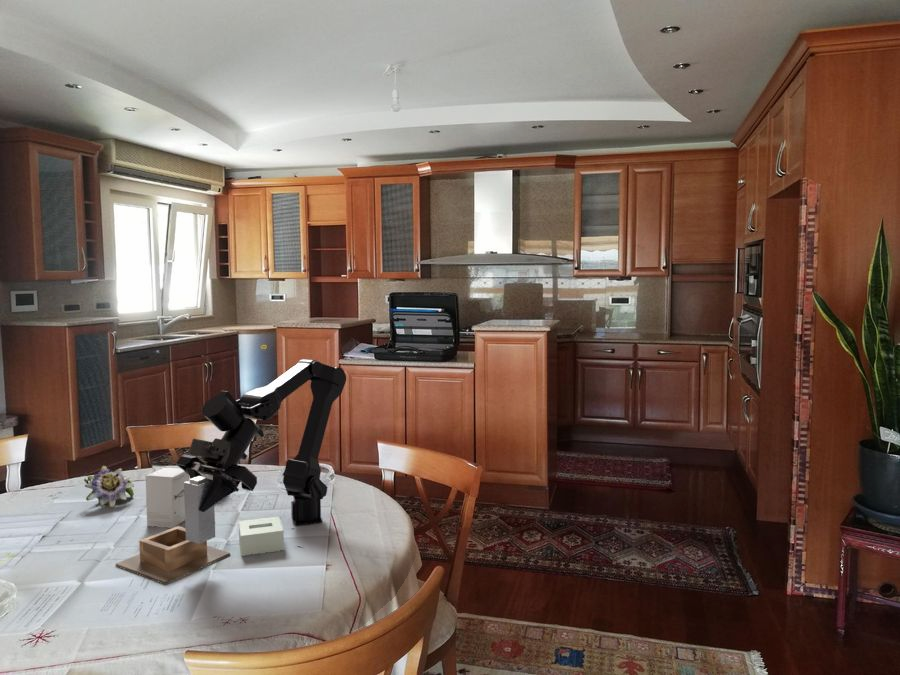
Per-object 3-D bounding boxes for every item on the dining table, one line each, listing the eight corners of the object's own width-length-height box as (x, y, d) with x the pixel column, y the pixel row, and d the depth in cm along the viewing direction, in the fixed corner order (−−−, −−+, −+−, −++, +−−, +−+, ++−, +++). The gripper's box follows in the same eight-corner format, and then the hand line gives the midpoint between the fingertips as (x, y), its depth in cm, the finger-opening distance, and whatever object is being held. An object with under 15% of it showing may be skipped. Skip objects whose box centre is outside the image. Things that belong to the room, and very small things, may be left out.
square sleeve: (181, 539, 151) (181, 518, 151) (230, 555, 143) (229, 532, 143) (115, 565, 137) (114, 542, 137) (165, 584, 129) (164, 559, 129)
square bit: (201, 533, 138) (199, 474, 136) (215, 536, 136) (213, 477, 134) (185, 539, 134) (183, 479, 133) (199, 543, 132) (197, 482, 131)
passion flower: (112, 527, 173) (87, 499, 165) (93, 510, 179) (67, 483, 172) (148, 495, 179) (125, 467, 171) (128, 480, 185) (105, 452, 178)
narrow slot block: (279, 535, 154) (279, 516, 154) (283, 550, 146) (283, 530, 145) (239, 540, 151) (238, 521, 151) (241, 555, 143) (240, 535, 142)
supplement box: (173, 529, 158) (171, 477, 156) (146, 526, 159) (144, 475, 158) (191, 517, 165) (190, 468, 164) (165, 515, 166) (163, 466, 165)
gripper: (181, 417, 141) (137, 482, 132) (244, 427, 132) (201, 498, 123) (212, 445, 148) (172, 508, 140) (274, 456, 139) (235, 524, 131)
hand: (193, 509), depth 133 cm, fingers closed on square bit, 4 cm apart
